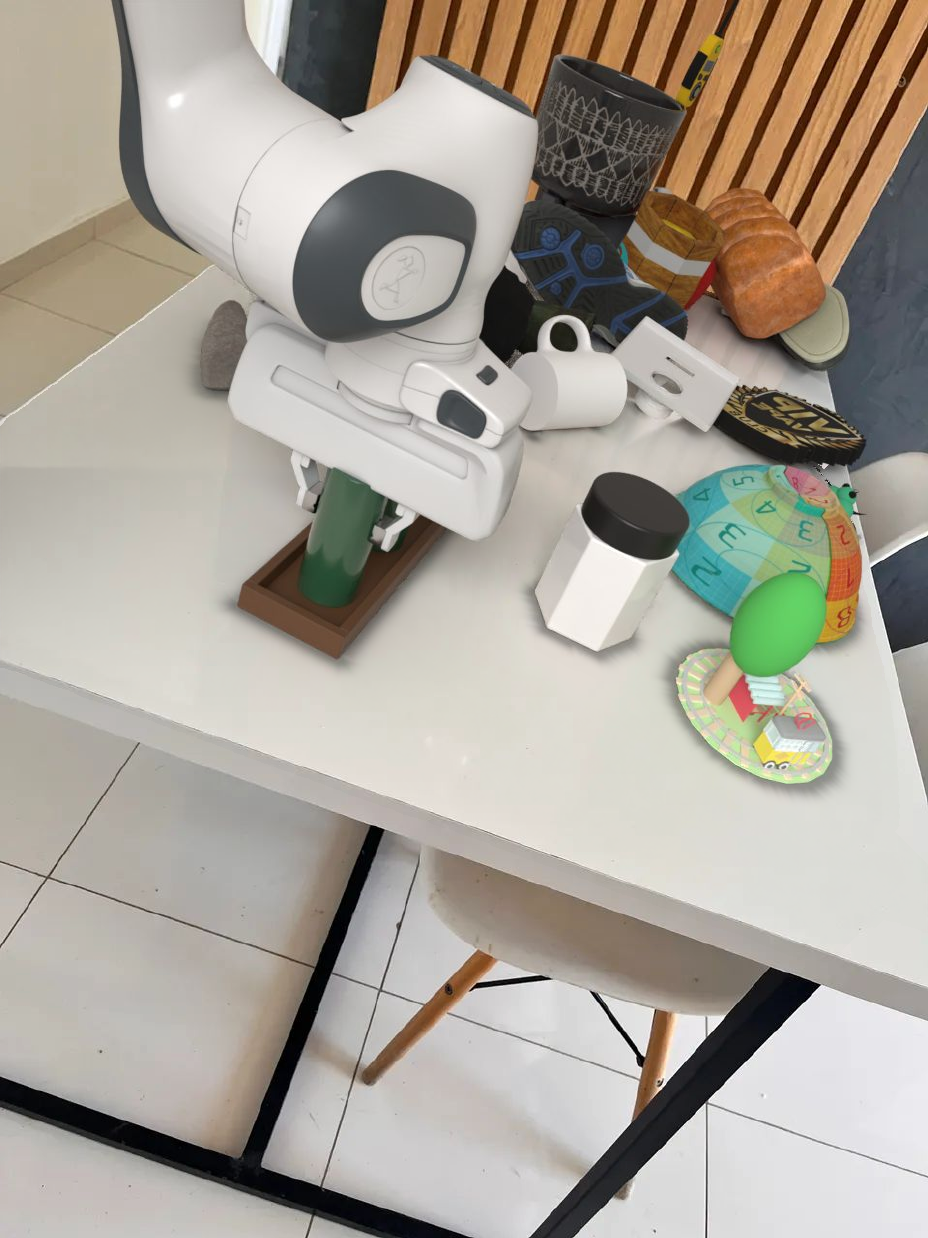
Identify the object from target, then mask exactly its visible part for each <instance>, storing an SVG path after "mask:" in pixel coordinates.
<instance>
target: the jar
mask: <svg viewBox="0 0 928 1238" xmlns="http://www.w3.org/2000/svg"><path fill="white" fill-rule="evenodd" d="M689 525H690V520H689V515H688V513H687V511H686V509H685V508H684V506H683V505H682V504H681V503H680V502H679V501H678V500H677V499H676V498H675V496H674V495H673V493H671V492H669V491H668V490H667V489H665V488H664V487H662V486H660V484H659V485H658V484H657V483H655V482H654V481H651V480H649V479H647V478H644V477H641V476H639V475H635V474H632V473H629V472H623V471H608V472H604V473H601V474H599V475H598V476H597V477H595V479H594V480H593V482H592V483H591V485H590V488H589V490H588V492H587V494H586V497H585V498H584V501H583V502H580V503H577V504H576V505H575V506H574V508H573V510H572V512H571V514H570V516H569V519H568V521H567V523H566V525H565V527H564V529H563V531H562V533H561V535H560V537H559V539H558V541H557V544H556V545H555V548H554V550H553V552H552V554H551V556H550V558H549V560H548V562H547V564H546V567H545V569H544V571H543V573H542V575H541V576H540V579H539V581H538V583H537V585H536V586H535V589H534V594H535V597H536V600H537V604H538V605H539V606H538V607H539V608H540V612H541V615H542V618H543V620H544V623H545V626H546V628H547V629H548V630H551V631H552V632H555V633H557V634H559V635H561V636H563V637H565V638H567V639H569V640H570V641H573V642H575V643H577V644H579V645H581V646H583V647H585V648H587V649H589V650H592V651H593V652H598V653H599V652H600V651H603V650H605V649H607V648H611V647H614V646H615V645H618V644H620V643H624V642H626V641H627V640H630V639H632V637H633V635H634V634H635V632H636V630H637V628H638V627H639V626H640V623H641V621H642V620H643V618H644V616H645V615H646V613H647V611H648V610H649V608H650V606H651V604H653V603H652V602H653V601H654V600H655V597H656V596H657V594H658V592H659V591H660V589H661V587H662V585H663V584H664V582H665V581H666V579H667V577H668V576H669V573H670V572H671V571H672V570H671V568H672V567H673V565H674V563H675V561H676V560H677V558H678V556H679V552H678V550H677V547H678V546H679V544H680V542H681V540H682V539H683V537H684V535H685V533H686V532H687V530H688V528H689Z"/></svg>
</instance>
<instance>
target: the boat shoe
mask: <svg viewBox="0 0 928 1238" xmlns="http://www.w3.org/2000/svg"><path fill="white" fill-rule="evenodd" d="M823 283H824V286H825V288H826V297H825V299H824V301H823V302H822V304H821V305H820V307H819V308H818V309H817V310H816V311H815V312H814V313H813V314H812V315H810V316H809V317H807V318H805V319H804V320H802V321H800V322H799V323H797V324H795V325H794V326H792V327H790V328H788V329H786V330H783V331H781V332H779V333H776V334H774V335H775V337H776V339H777V340H778V342H779V343H780V344H781V345H782V346H783V347H784V349H785V351H787V352H788V354H790V355H791V356H792V357H793V358H794V359H795V360H797V361H798V362H799V363H801V364H802V365H803V366H805V367H807V368H808V369H809V370H812V371H814V372H821V373H822V372H827V371H830V370H832V369H834V368H836V367H837V366H839V365H840V364H841V363H843V361H844V360H845V357H846V356H847V354H848V352H849V348H850V319H849V311H848V305H847V302H846V300H845V297H844V295H843V293H842V292H841V291H840V290H839V289H837V288H835V286H834V287H833V286H831V285H830V284H828V283H826V282H824V281H823Z"/></svg>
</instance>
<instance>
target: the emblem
mask: <svg viewBox="0 0 928 1238" xmlns="http://www.w3.org/2000/svg"><path fill="white" fill-rule="evenodd" d="M847 422H848V420H846V419H845V418H843V416H842V415H840V414H838V413H837V412H835V411H832V410H830V409H829V408H828V407H823V406H821V405H820V404H816V403H810V402H807V399H805V398H800V397H799V396H797V395H792V394H789V393H788V392H781V391H779V390H778V389H768V388H767V387H766V386H762V387H761V388H759V387H758V386H757V385H754V386H753V387H752V388H750V387H749V386H747V385H746V384H742V386H741V385H737V386H736V388H735V390H734V391H733V393H732V394H731V396H730V398H729V399H728V401H727V402H726V404H725V406H724V407H723V409H722V410H721V412H720V414H719V415H718V417H717V418H716V420H715V422H714V423H713V425H715V426H717V428H720V429H721V430H722V431H724V432H725V433H727V434H728V435H730V436H731V437H733V438H735V439H736V440H737V441H739V442H741V443H743V444H744V445H746V446H748V447H750V448H752V449H754V450H756V451H758V452H760V453H762V454H764V455H766V456H767V457H769V458H772V459H774V460H776V461H782V462H784V463H785V464H787V465H789V466H793V465H794V463H798V464H803V463H804V462H805V463H806V464H810V463H811V462H812V463H814V464H817V465H819V466H823V464H825V465H828V466H830V467H835V465H838V466H840V467H844V468H845V467H846V466H847V465H848V466H853V464H854V463H856V462H857V460H860V458H861V457H862V454H863V452H864V450H865V448H866V446H867V441H868V440H867V439H866V438H864V437H865V435H864V434H862V433H860V430H859V429H856V426H855V425H849V424H847Z"/></svg>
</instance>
